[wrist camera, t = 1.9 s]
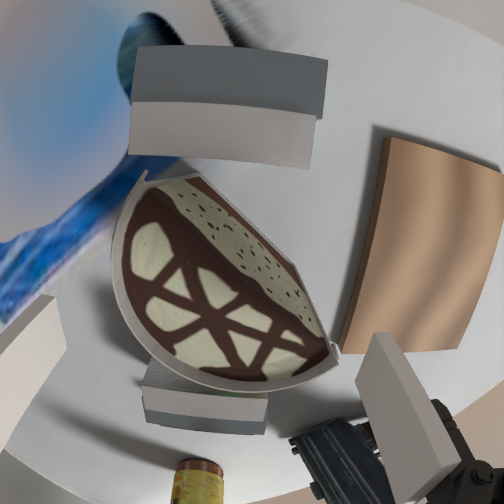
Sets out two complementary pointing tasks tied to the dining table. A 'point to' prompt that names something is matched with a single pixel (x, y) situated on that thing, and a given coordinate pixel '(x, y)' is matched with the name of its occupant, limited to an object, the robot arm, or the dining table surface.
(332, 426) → the gun
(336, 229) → the dining table surface
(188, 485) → the sauce bottle
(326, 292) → the dining table surface
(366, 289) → the light brown board
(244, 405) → the grey blocks
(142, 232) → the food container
